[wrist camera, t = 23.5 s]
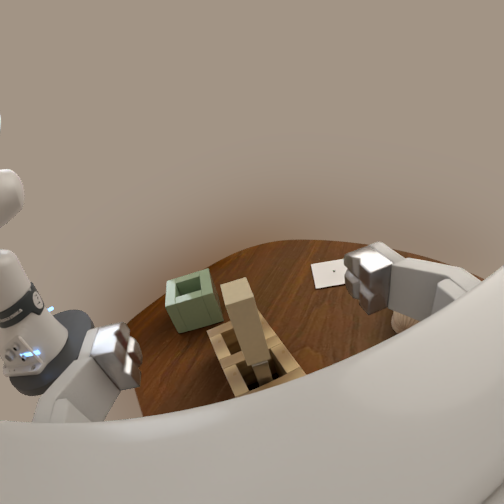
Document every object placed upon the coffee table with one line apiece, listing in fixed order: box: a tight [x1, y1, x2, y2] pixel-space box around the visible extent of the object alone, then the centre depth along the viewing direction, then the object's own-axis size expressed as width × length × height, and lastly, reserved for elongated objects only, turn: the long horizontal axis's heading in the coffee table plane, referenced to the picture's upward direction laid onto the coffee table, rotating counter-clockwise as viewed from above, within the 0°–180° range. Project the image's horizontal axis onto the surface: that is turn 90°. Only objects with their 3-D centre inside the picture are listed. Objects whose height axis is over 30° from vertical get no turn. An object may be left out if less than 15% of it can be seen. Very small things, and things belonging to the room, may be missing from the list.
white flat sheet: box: [311, 259, 348, 289], centre depth 49 cm, size 8×8×1 cm
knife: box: [220, 277, 273, 386], centre depth 27 cm, size 2×4×16 cm, turn 13°
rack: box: [207, 311, 306, 398], centre depth 30 cm, size 20×8×5 cm, turn 22°
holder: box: [165, 269, 224, 333], centre depth 46 cm, size 8×8×6 cm
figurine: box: [391, 311, 420, 334], centre depth 36 cm, size 6×4×15 cm
